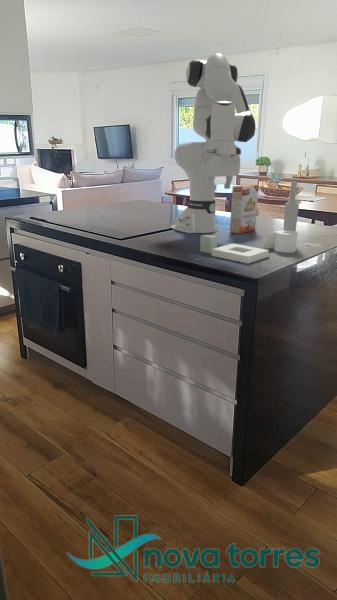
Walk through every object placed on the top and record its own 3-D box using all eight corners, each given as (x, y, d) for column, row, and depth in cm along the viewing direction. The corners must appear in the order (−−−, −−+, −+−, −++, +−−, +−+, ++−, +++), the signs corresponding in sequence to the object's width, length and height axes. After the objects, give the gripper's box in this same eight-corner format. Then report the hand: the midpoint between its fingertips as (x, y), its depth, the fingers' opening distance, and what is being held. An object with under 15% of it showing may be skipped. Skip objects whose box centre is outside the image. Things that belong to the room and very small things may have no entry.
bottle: (289, 247, 176) (295, 182, 168) (278, 245, 180) (284, 181, 172) (297, 246, 179) (304, 181, 171) (287, 243, 183) (293, 180, 175)
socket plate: (211, 255, 164) (211, 249, 163) (232, 249, 173) (232, 243, 172) (248, 263, 153) (248, 256, 153) (268, 256, 162) (268, 250, 161)
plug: (200, 251, 170) (200, 235, 168) (206, 249, 173) (207, 234, 171) (210, 253, 167) (210, 237, 165) (216, 251, 170) (217, 236, 168)
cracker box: (240, 234, 200) (243, 186, 193) (229, 232, 204) (231, 185, 197) (256, 230, 210) (259, 184, 203) (245, 228, 214) (247, 183, 207)
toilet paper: (263, 248, 175) (264, 231, 173) (290, 247, 177) (291, 230, 175) (271, 253, 167) (273, 235, 165) (299, 252, 170) (301, 234, 167)
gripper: (212, 149, 151) (210, 191, 155) (243, 150, 166) (241, 188, 170) (197, 149, 155) (196, 190, 159) (229, 150, 170) (227, 187, 174)
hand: (220, 189), depth 165 cm, fingers open, 8 cm apart
